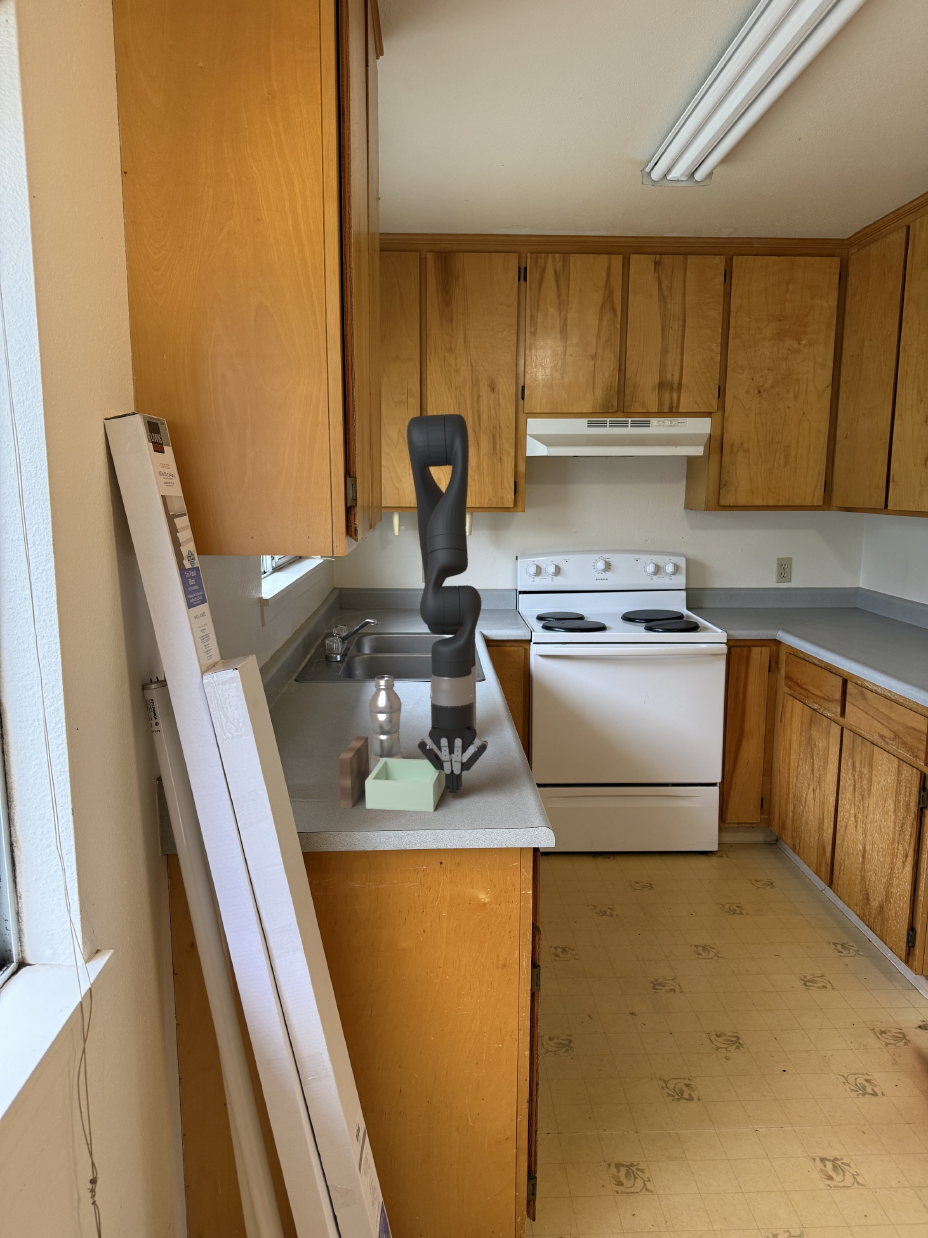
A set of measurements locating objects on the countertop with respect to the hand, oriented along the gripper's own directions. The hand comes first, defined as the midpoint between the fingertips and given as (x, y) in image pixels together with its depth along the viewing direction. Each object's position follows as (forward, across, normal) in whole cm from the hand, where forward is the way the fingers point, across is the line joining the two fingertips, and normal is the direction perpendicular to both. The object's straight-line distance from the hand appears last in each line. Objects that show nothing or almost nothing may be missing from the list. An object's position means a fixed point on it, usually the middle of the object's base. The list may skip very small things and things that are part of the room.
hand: (453, 791), depth 147 cm
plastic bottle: (+2, +15, -12) cm, 19 cm away
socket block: (+1, +9, 0) cm, 9 cm away
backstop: (+2, +7, 0) cm, 8 cm away
